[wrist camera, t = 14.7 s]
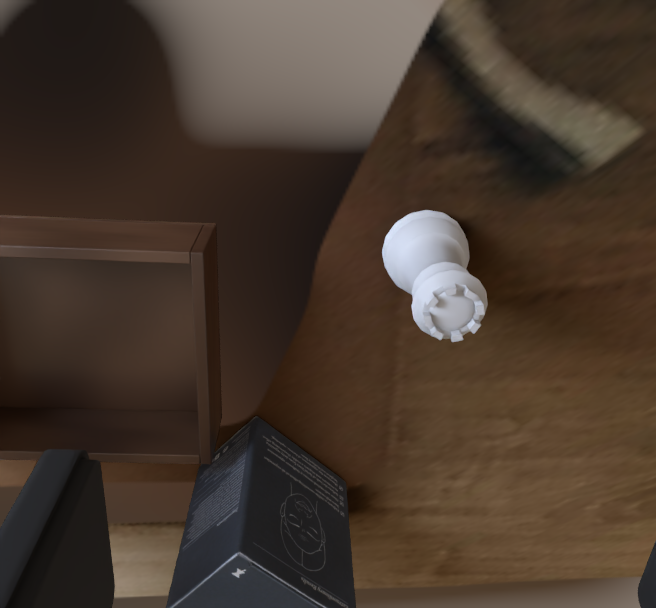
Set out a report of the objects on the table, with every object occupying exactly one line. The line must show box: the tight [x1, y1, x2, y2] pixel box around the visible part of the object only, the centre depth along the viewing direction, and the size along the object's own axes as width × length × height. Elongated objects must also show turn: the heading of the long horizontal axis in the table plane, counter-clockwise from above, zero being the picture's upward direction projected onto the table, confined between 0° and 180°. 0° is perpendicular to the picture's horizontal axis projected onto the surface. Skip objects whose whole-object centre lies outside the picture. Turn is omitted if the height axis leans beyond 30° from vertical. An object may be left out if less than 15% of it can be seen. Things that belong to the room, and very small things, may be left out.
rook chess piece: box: [382, 210, 488, 342], centre depth 29 cm, size 4×4×8 cm
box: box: [166, 416, 356, 608], centre depth 35 cm, size 8×6×11 cm
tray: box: [0, 215, 222, 464], centre depth 33 cm, size 14×12×4 cm
